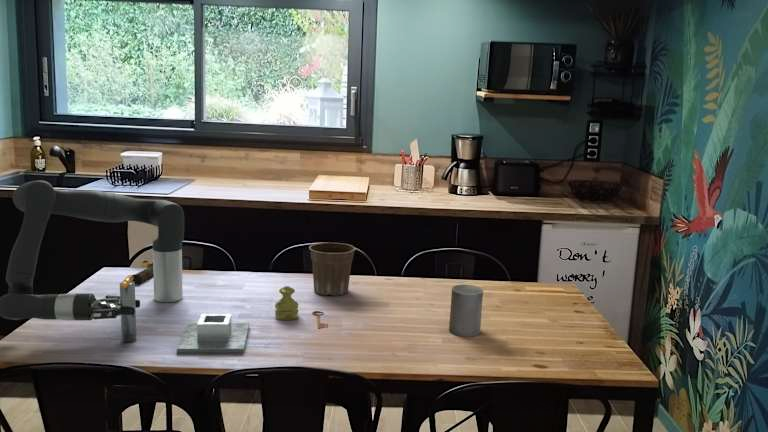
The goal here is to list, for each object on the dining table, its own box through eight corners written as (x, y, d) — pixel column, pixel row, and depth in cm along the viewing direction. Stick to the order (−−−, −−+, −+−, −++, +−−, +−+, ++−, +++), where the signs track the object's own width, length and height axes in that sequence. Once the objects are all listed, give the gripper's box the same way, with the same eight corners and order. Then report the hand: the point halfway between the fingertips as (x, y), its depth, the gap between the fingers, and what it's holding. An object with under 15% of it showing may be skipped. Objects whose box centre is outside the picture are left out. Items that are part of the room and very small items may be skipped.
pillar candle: (443, 327, 228) (446, 281, 225) (470, 324, 232) (473, 279, 229) (458, 339, 220) (461, 291, 216) (486, 335, 223) (489, 288, 220)
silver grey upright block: (125, 334, 213) (123, 274, 209) (139, 334, 213) (137, 274, 209) (118, 346, 204) (115, 283, 200) (132, 346, 204) (130, 283, 201)
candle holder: (188, 328, 220) (188, 307, 219) (249, 327, 222) (249, 307, 220) (176, 353, 200) (176, 331, 199) (243, 353, 202) (243, 331, 201)
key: (331, 330, 224) (329, 314, 239) (331, 328, 224) (329, 311, 238) (312, 329, 223) (311, 312, 238) (312, 326, 223) (312, 309, 238)
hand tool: (141, 285, 259) (140, 273, 258) (130, 284, 260) (130, 271, 259) (168, 272, 278) (168, 260, 277) (158, 270, 278) (158, 259, 277)
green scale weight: (288, 311, 238) (289, 282, 236) (303, 317, 233) (303, 287, 231) (270, 316, 233) (270, 286, 231) (284, 322, 227) (284, 291, 225)
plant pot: (328, 281, 272) (329, 239, 268) (363, 290, 262) (364, 247, 259) (299, 291, 259) (299, 247, 255) (334, 301, 249) (335, 255, 246)
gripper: (66, 302, 197) (131, 302, 199) (82, 286, 211) (142, 286, 213) (67, 328, 199) (131, 328, 201) (83, 311, 213) (143, 311, 215)
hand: (137, 307), depth 207 cm, fingers open, 5 cm apart
